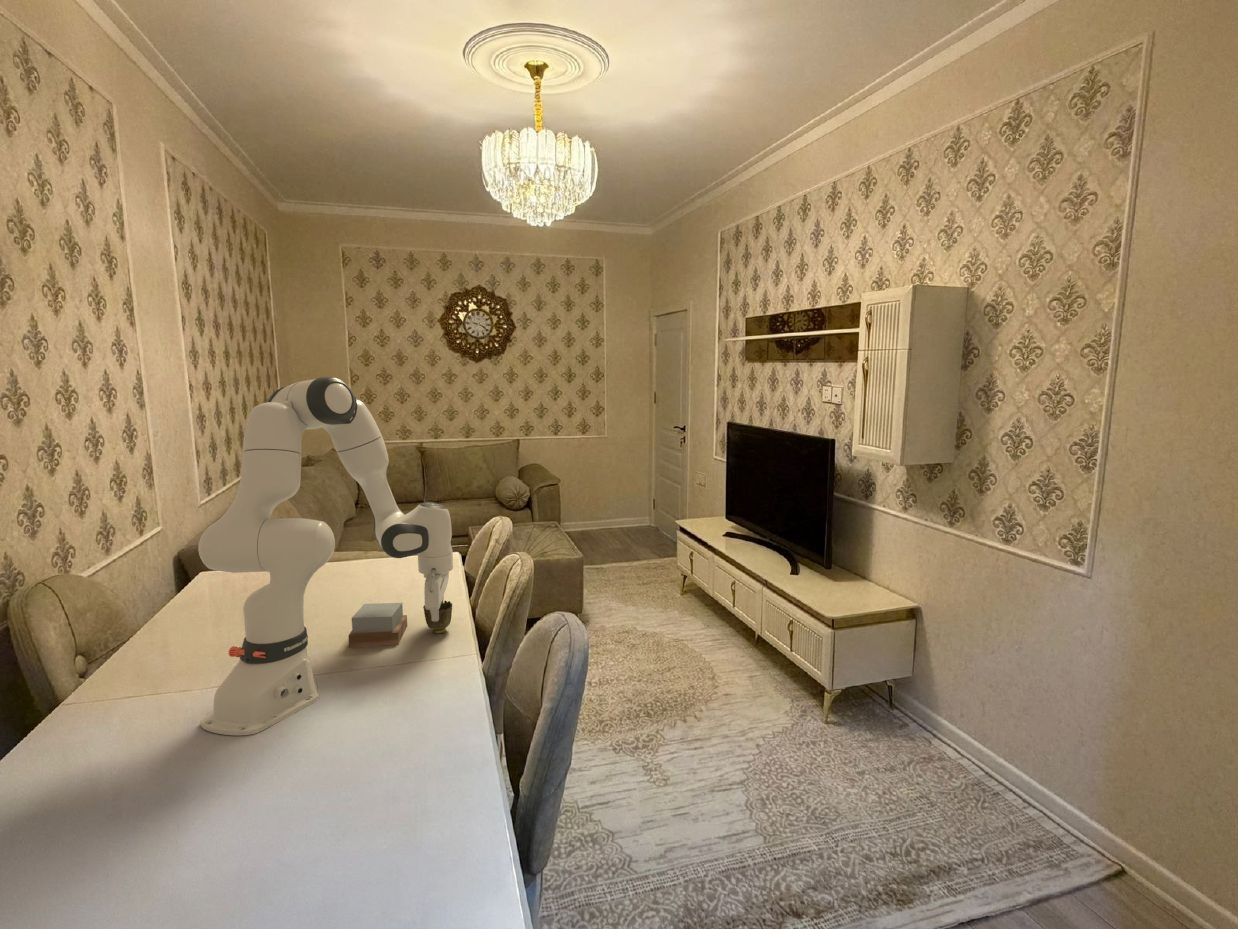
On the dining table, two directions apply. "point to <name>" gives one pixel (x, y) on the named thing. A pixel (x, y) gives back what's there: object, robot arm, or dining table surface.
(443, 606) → the cup
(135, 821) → the dining table surface
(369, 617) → the tower top
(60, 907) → the dining table surface
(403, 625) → the tower base
